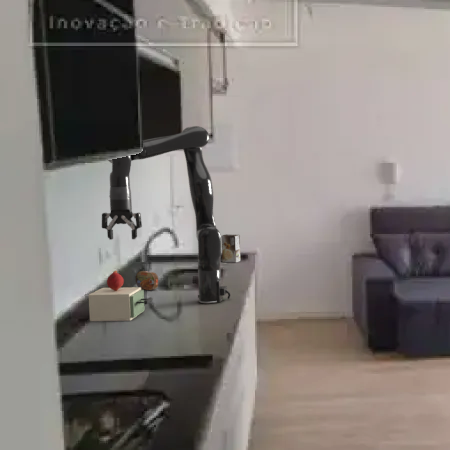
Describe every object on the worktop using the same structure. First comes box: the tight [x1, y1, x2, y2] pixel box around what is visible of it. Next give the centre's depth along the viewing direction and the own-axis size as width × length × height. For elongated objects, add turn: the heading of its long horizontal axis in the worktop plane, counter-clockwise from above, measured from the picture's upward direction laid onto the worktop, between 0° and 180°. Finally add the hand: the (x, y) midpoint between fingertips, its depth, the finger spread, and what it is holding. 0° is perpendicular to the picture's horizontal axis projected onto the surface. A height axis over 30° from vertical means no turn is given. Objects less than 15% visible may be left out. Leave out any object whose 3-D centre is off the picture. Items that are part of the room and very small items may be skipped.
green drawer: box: [130, 289, 154, 319], centre depth 245 cm, size 18×12×8 cm, turn 95°
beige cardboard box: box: [88, 286, 142, 322], centre depth 244 cm, size 15×13×10 cm
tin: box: [135, 270, 159, 291], centre depth 296 cm, size 15×3×8 cm, turn 56°
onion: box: [106, 270, 125, 291], centre depth 243 cm, size 6×6×8 cm
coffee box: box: [221, 233, 241, 263], centre depth 374 cm, size 9×6×16 cm
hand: (122, 239), depth 246 cm, fingers open, 8 cm apart
